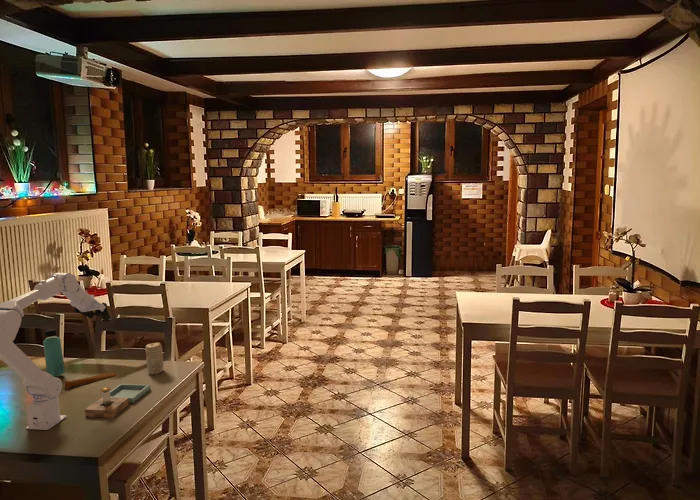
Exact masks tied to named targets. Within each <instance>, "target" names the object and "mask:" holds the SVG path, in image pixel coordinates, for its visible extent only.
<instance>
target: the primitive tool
mask: <svg viewBox="0 0 700 500" xmlns="http://www.w3.org/2000/svg"><path fill="white" fill-rule="evenodd" d="M117 376H118V374H116V373H115V372H106V373H101V374H96V375H92V376H88V377H84V378H83V377H82V378H77V379H72V380H65V381H64V383H63V384H64V389H65V390H69V389H71V388H74V387H78V386H82V385H85V384H89V383H93V382H98V381H101V380H105V379H106V380H107V379H111V378H115V377H117Z"/></svg>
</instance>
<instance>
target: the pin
mask: <svg viewBox="0 0 700 500" xmlns="http://www.w3.org/2000/svg"><path fill="white" fill-rule="evenodd" d="M110 391H111V387H110V386H103V387H102V388H100V392H101V395H102V396H101V398H102V397H103V406H110V405H111V400H110Z"/></svg>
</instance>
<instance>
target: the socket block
mask: <svg viewBox="0 0 700 500" xmlns="http://www.w3.org/2000/svg"><path fill="white" fill-rule="evenodd" d="M110 400H111V405H110V406H103V397H102V396H101V397H100V398H99V399H98V400H96V401H95V402H93V403H91V404H90V405H89V406H88V407H86V408H84V416H85V417H86V418H87V416H88V417H91V418H108V419H109V418H111V419H112V418H114V417H116V415H118V414H120V412H121V411H122V412H123V410H124V409H125V407H126V408H127V407H128V406H130V403H129V398H115V397H110Z"/></svg>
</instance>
